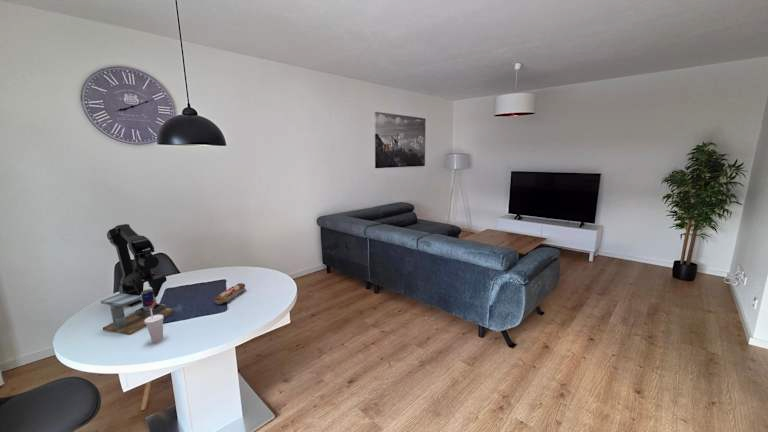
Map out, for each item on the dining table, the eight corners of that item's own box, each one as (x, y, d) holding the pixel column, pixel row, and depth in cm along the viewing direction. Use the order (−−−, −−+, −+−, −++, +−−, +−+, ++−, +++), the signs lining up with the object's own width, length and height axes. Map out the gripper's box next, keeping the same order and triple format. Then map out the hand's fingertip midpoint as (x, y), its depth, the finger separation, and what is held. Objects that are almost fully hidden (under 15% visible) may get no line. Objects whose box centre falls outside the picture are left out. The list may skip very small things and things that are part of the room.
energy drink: (151, 317, 149) (147, 294, 147) (141, 316, 150) (137, 293, 148) (161, 312, 154) (157, 289, 152) (151, 311, 155) (147, 288, 153)
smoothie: (154, 335, 134) (149, 305, 131) (170, 334, 134) (165, 304, 131) (144, 344, 127) (138, 312, 125) (161, 343, 128) (155, 311, 125)
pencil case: (208, 303, 163) (207, 294, 162) (239, 288, 180) (238, 280, 179) (223, 307, 158) (222, 298, 158) (253, 291, 176) (252, 283, 175)
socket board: (102, 330, 139) (96, 301, 136) (149, 307, 159) (144, 282, 156) (130, 334, 135) (124, 305, 132) (174, 311, 155) (170, 285, 152)
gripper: (109, 269, 142) (115, 301, 145) (141, 272, 137) (147, 305, 140) (134, 261, 152) (140, 291, 155) (164, 263, 147) (169, 295, 150)
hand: (148, 295), depth 150 cm, fingers open, 9 cm apart
